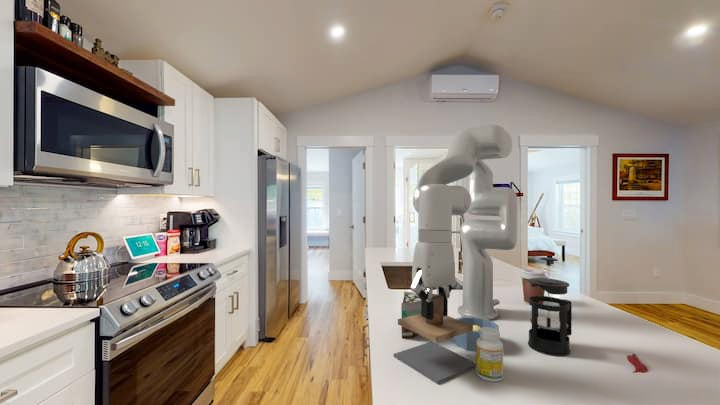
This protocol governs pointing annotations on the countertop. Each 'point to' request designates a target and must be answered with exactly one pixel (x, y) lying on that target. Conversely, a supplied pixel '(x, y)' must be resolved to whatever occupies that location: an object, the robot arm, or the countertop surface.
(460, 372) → the mat
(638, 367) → the cayenne pepper
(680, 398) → the countertop surface
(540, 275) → the coffee cup
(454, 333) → the lid
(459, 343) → the bowl
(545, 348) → the french press
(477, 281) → the robot arm
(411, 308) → the food container
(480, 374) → the supplement bottle
